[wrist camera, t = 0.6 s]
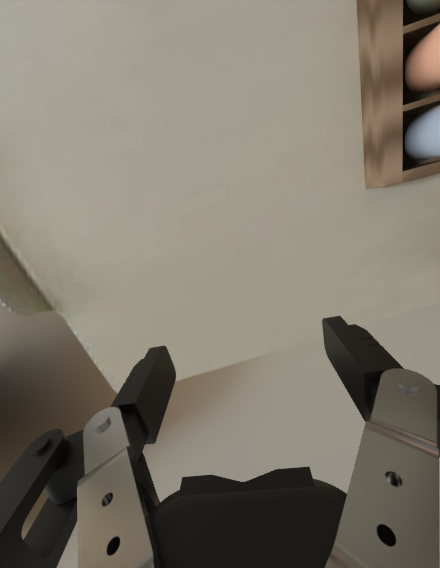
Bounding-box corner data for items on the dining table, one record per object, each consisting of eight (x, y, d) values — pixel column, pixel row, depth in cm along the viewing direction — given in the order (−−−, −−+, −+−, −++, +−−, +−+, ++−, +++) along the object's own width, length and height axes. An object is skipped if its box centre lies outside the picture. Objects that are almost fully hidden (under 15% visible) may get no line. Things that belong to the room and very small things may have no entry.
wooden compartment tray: (355, -22, 26) (382, -71, 21) (453, -61, 24) (505, -123, 20) (365, 188, 33) (386, 186, 28) (441, 168, 32) (476, 163, 27)
